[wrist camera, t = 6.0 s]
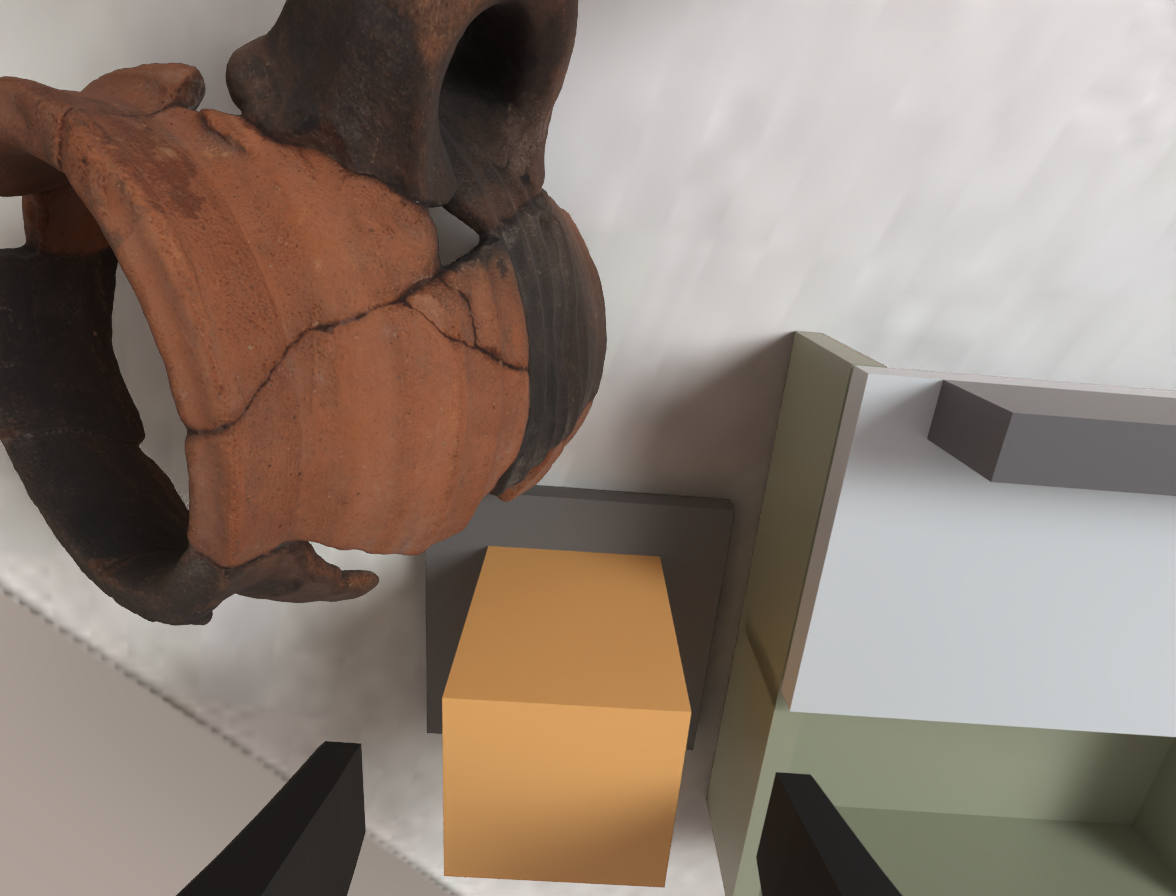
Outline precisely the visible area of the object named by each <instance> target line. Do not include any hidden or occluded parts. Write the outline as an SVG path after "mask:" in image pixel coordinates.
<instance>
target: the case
mask: <svg viewBox="0 0 1176 896" xmlns="http://www.w3.org/2000/svg"><path fill="white" fill-rule="evenodd" d="M854 365H858V366H871V367H883V368H887V366H885V365H883V364H881V363H879V362H877V361H875V360H873V359H871V358H869V357H867V356H866V355H864V354H862V353H860V352H858V351H856V350H854V349H852V348H850V347H848V346H846V345H844V344H843V343H841V342H839V341H837V340H835V339H833V338H831V337H829V336H827V335H825V334H823V333H814V332H802V331H795V334H794V340H793V345H792V350H791V356H790V361H789V366H788V371H787V377H786V382H785V387H784V393H783V398H782V403H781V408H780V414H779V419H778V424H777V429H776V435H775V440H774V445H773V451H772V456H771V461H770V466H769V472H768V477H767V482H766V488H765V493H764V498H763V503H762V509H761V514H760V519H759V524H758V530H757V535H756V540H755V546H754V551H753V556H752V561H751V567H750V572H749V577H748V583H747V588H746V593H745V598H744V604H743V609H742V614H741V620H740V625H739V630H738V635H737V641H736V646H735V651H734V656H733V662H732V667H731V672H730V678H729V683H728V688H727V693H726V699H725V704H724V709H723V715H722V720H721V725H720V730H719V736H718V741H717V746H716V751H715V757H714V762H713V767H712V773H711V778H710V783H709V788H708V794H707V799H706V800H707V805H708V810H709V815H710V820H711V825H712V830H713V835H714V840H715V845H716V850H717V855H718V860H719V865H720V870H721V875H722V880H723V886H724V891H725V896H762V891H761V885H760V879H759V873H758V866H757V860H756V856H757V851H758V847H759V843H760V838H761V834H762V830H763V825H764V821H765V817H766V813H767V808H768V804H769V800H770V795H771V791H772V787H773V782H774V778H775V774H776V772H781V773H796V774H811V776H812V777H813V778H814V779H815V780H816V782H817V783H818V784H819V786H820V787H821V789H822V790H823V791H824V793H825V794H826V795H827V797H828V798H829V799H830V801H831V802H832V804H833V805H834V806H835V808H836V809H837V810H838V812H839V813H840V815H841V816H842V817H843V819H844V820H845V821H846V823H847V824H848V825H849V827H850V828H851V829H852V831H853V832H854V833H855V835H856V836H857V837H858V839H859V840H860V842H861V843H862V844H863V846H864V847H865V848H866V850H867V851H868V852H869V853H870V855H871V856H872V857H873V859H874V860H875V861H876V863H877V864H878V865H879V867H880V868H881V869H882V870H883V872H884V873H885V874H886V875H887V877H888V878H889V879H890V881H891V882H892V883H893V884H894V886H895V887H896V888H897V889H898V891H899V892H900V893H901V894H902V896H1176V737H1166V736H1151V735H1136V734H1121V733H1106V732H1091V731H1076V730H1061V729H1046V728H1031V727H1016V726H1001V725H986V724H971V723H956V722H941V721H926V720H911V719H896V718H881V717H866V716H851V715H836V714H821V713H806V712H791V711H789V708H788V706H787V703H786V701H785V698H784V696H783V693H782V691H781V688H782V684H783V679H784V675H785V670H786V666H787V661H788V657H789V652H790V648H791V644H792V639H793V635H794V630H795V626H796V621H797V617H798V612H799V608H800V603H801V599H802V595H803V590H804V586H805V581H806V577H807V572H808V568H809V563H810V559H811V555H812V550H813V546H814V541H815V537H816V532H817V528H818V523H819V519H820V514H821V510H822V506H823V501H824V497H825V492H826V488H827V483H828V479H829V474H830V470H831V466H832V461H833V457H834V452H835V448H836V443H837V439H838V434H839V430H840V425H841V421H842V417H843V412H844V408H845V403H846V399H847V394H848V390H849V385H850V381H851V377H852V372H853V368H854Z"/></svg>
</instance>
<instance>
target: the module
mask: <svg viewBox="0 0 1176 896" xmlns="http://www.w3.org/2000/svg"><path fill="white" fill-rule="evenodd" d="M690 718H691V707H690V703H689V698H688V693H687V688H686V683H685V678H684V673H683V668H682V663H681V658H680V653H679V648H678V643H677V638H676V633H675V628H674V623H673V619H672V614H671V609H670V604H669V599H668V594H667V589H666V584H665V579H664V574H663V569H662V564H661V559H660V557H659V556H643V555H627V554H611V553H595V552H579V551H563V550H547V549H531V548H515V547H499V546H488V549H487V552H486V556H485V559H484V562H483V566H482V569H481V572H480V575H479V579H478V582H477V585H476V589H475V592H474V595H473V598H472V602H471V605H470V608H469V612H468V615H467V618H466V621H465V625H464V628H463V631H462V635H461V638H460V641H459V644H458V648H457V651H456V654H455V657H454V661H453V664H452V667H451V671H450V674H449V677H448V680H447V684H446V687H445V690H444V694H443V697H442V724H443V817H444V876H455V877H475V878H494V879H513V880H533V881H552V882H571V883H590V884H610V885H629V886H648V887H664V886H665V880H666V873H667V867H668V861H669V854H670V848H671V841H672V835H673V828H674V822H675V815H676V809H677V802H678V796H679V789H680V783H681V776H682V770H683V764H684V757H685V751H686V744H687V738H688V731H689V725H690Z"/></svg>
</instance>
